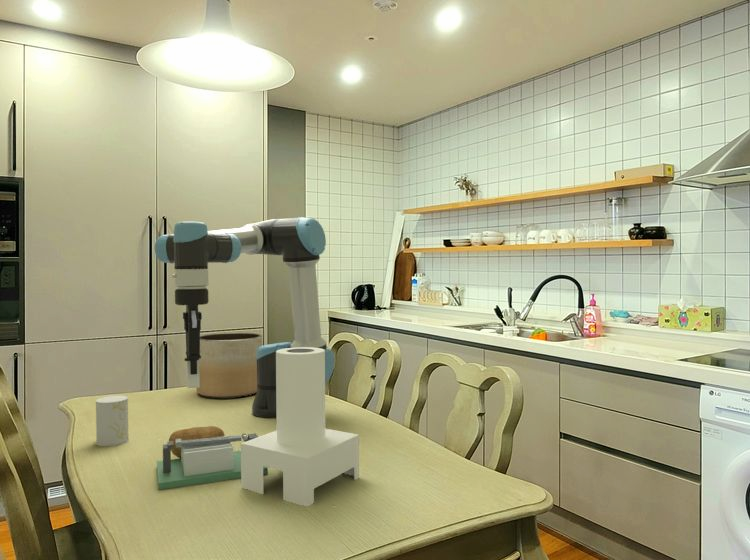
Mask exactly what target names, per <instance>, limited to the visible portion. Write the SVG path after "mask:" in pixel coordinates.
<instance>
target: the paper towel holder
mask: <svg viewBox="0 0 750 560" xmlns="http://www.w3.org/2000/svg"><path fill="white" fill-rule="evenodd" d="M276 414H277V417H276V430H274V431H271V432H268V433H266V434H263V435H260V436H258V437H257V438H254V439H252V440H249V441H246V442H245V441H243V442H241V443H240V451H241V478H240V479H241V480H240V483H241V484H240V485H241V489H242V488H244V489H243V490H246V489H248V490H247V491H249V490H252V491H251V492H253V491H255V492H254V493H256V492H258V494H260V493H262V494H261V495H264V474H263V466H266V467H268V468H271V469H275V470H279V471H282V476H283V477H282V485H283V486H282V488H283V489H282V493H283V494H282V497H283V501H284V500H286V501H285V502H288V501H290V502H289V503H291V502H293V503H292V504H295V503H296V504H295V505H298V504H301V505H300V506H302V505H304V506H303V507H305V506H309V507H311V506H312V505H311V504H313V503H314V504H315V489H316V488H318V487H319V486H322V485H324V484H325V483H327V482H329V481H331V480H333V479H335V478H336V477H338V476H340V475H342V473H345V474H344V475H346V474H349V475H348V476H351V475H353V476H352V477H354V479H353V480H354V481H355V479H356V480H358V479H359V478H360V435H359V434H357V433H352V432H346V431H341V430H335V429H331V428H326V383H325V350H324V349H321V348H314V347H295V348H285V349H280V350H277V351H276ZM358 477H359V478H358ZM314 504H313V505H314ZM310 505H311V506H310Z"/></svg>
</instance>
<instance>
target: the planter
mask: <svg viewBox="0 0 750 560" xmlns="http://www.w3.org/2000/svg"><path fill="white" fill-rule="evenodd" d="M260 346H263V335H262V334H260V333H255V332H254V333H253V332H224V333H221V332H220V333H211V334H209V333H208V334H204V335H200V355H201V358H200V359H199V373H200V387H199V388H196V392H197V393H198V394H199V395H201V396H202V397H206V398H209V397H211V399H234V398H233V397H238V398H242V397H241V396H245V397H248V395H249V396H252V394H253V395H256V394H255V393H256V392H257V360H256V358H257V350H258V348H259V347H260Z"/></svg>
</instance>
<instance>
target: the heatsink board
mask: <svg viewBox="0 0 750 560" xmlns="http://www.w3.org/2000/svg"><path fill="white" fill-rule="evenodd" d="M225 436H226V435H224V436H223V437H225ZM247 437H248V441H249V440H252V439H254V438H257V437H259V436H258V434H257V433H255V432H254V433H248V434H247ZM214 438H215V437H214ZM172 447H173V441H169V440H168V441H167V442H166V443H165V444H162V460H159V461H158V460H156V471H157V473H156V475H157V484H158V490H159V491H161V490H167V489H168V490H169V489H174V488H175V489H176V488H182V487H189V486H196V485H201V484H202V485H203V484H209V483H216V482H221V481H229V480H234V479H235V480H237V479H241V450H236V451H235V450H234V446H233V443H232V442H225V443H215V444H205V445H194V446H184V447H181V458H173V459H171V453H172V451H171V448H172ZM268 469H269V467H266V466H263V475H268V473H269V470H268Z"/></svg>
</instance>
